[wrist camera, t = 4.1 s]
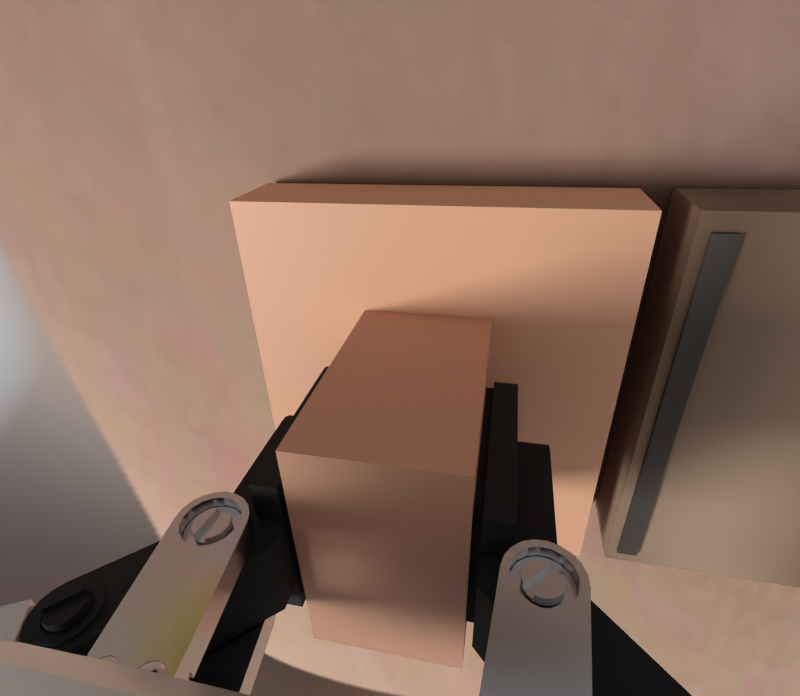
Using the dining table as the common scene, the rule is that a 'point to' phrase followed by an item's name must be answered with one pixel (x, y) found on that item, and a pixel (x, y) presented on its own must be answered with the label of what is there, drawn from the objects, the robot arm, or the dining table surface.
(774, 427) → the board
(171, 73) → the dining table surface
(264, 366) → the stub
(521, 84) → the dining table surface
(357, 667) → the dining table surface
